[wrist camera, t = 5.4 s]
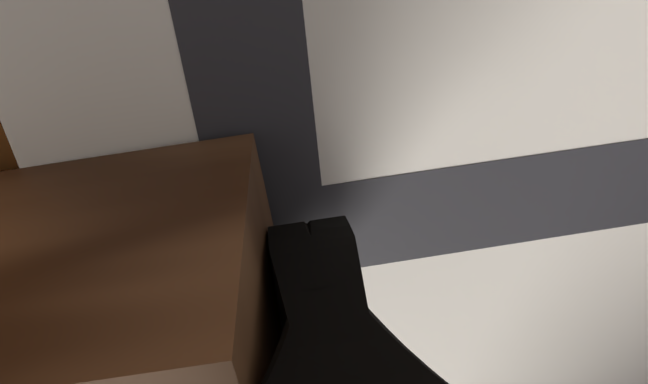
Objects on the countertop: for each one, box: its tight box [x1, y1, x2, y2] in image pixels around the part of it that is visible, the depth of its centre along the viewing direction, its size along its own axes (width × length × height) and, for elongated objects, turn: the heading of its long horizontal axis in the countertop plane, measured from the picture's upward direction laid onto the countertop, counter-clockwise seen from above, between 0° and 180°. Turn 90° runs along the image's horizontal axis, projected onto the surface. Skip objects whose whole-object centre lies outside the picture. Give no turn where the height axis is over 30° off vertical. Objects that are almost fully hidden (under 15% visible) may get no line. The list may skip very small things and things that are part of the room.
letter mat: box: [0, 0, 648, 384], centre depth 12 cm, size 16×16×1 cm
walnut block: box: [0, 133, 282, 384], centre depth 9 cm, size 5×5×5 cm
